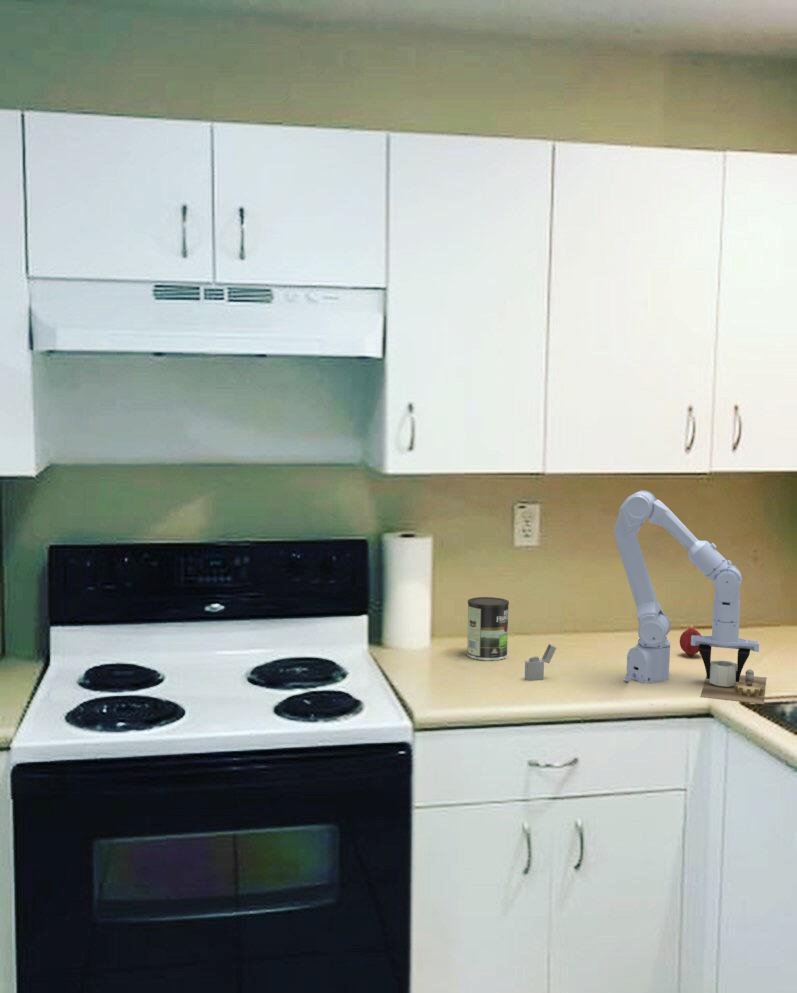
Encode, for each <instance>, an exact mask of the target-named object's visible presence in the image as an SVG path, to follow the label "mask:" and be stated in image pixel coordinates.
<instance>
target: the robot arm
mask: <svg viewBox="0 0 797 993" xmlns="http://www.w3.org/2000/svg"><path fill="white" fill-rule="evenodd" d="M618 510H619V511H618V512H619V513H618V517H617V519H616V523H615V526H614V530H613V536H614V539H615V540H614V541H615V543H616V546H617V549H618V552H619V555H620V558H621V562H622V564H623V568H624V572H625V575H626V579H627V580H628V584H629V587H630V591H631V594H632V598H633V600H634V603H635V607H636V616H637V621H638V628H637V630H638V631H637V634H638V635H637V636H638V640H637V644H636V645H635V646H634V647H631V648H630V649H629V650H628V652H627V655H626V673H625V675H626V676H625V677H624V678H623V681H625V682H627V683H630V681H631V680H633V681H637V682H639V683H642V684H650V683H656V682H657V683H658V682H666V681H669V678H670V658H671V657H670V655H671V654H670V653H671V642H670V641H669V639H668V634H669V632H670V631H671V629H672V628H671V627H672V624H671V620H670V618H669V617H668V616H667V615H666V614H665V612H664V611H663V609H662V606H661V604H660V602H659V600H658V599H657V595H656V593H655V588H654V587H653V586H654V585H653V582H652V581H651V580H652V579H651V576H650V573H649V570H648V567H647V564H646V561H645V558H644V554H643V552H642V548H641V545H640V542H639V539H638V533H639V531H640V529H641V528H642V526H643V524H644V523H645V521H647V520H648V519H649V520H648V524H652V525H655V526H656V525H657V526H660V527H663V528H664V529H665V530H666V531H667V532H668V533H669V534H671V536H672V537H673V538H674V539H675V540H677V542H679V543H680V544H681V545H682V546H683V547H684V548H685V549H686V550H687V551H688V552H687V557H688V560H689V561H690V562H691V563H692V564H693V565H694V566H695V567H696V568H697V569H698V570H699V571H700V572H701V573H702V574H703V575H704V576H705V577H706V578H707V579H709V580H711V581H712V585H713V588H714V598H713V600H712V601H713V603H712V605H713V607H712V623H711V625H712V627H711V635H701V636H695V635H692V636H691V645H693V646H696V645H699V655H700V656H701V659H702V662H703V665H704V667H705V668H704V669H705V674H706V676H707V679H710V663H711V661H712V660H711V659H712V657H711V656H712V647H713V648H724V649H731V650H733V649H734V650H737V661H736V662H737V663H736V664H737V673H736V682H739V678H740V675H742V671H743V668H744V666H745V664H746V662H747V660H748V659H749V656H750V654H751V651H753V652H756V653H758V652H760V641H756V640H751V639H744V638H739V634H740V618H741V617H740V613H741V600H740V597H741V591H740V590H741V587H742V580H743V579H742V578H743V577H742V574H741V571H740V570H739V568H738V567H737V566H736V565H733V564H732V563H733V562H732V561H731V560H730V559H728V560H727V559H726V558H725V557H724V556H723V555H722V554H721V553H720V552H719V551H718V550H717V549H716V548H717V545H716V544H715V543H714V542H712V543H710V542H709V541H708V540H699V539H698V538H697V537H696V536H695V534H693V533H692V531H691V530H689V528H688V527H686V525H685V524H684V523H683V522H682V520H681V519H679V518H678V517H677V515H676V514H674V512H672V510H671V509H669V507H668V506H667V505H666V504H664V502H662V500H659V499H657V498H656V497H655V495H654V494H653V493H652V492H650V491H648V490H639V491H636V492H634V493H633V494H631V495H629V496H627V497H626V499H625V500H624V501H623V503H622V504H621V506H620V507H619V509H618Z"/></svg>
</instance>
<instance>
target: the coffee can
mask: <svg viewBox="0 0 797 993" xmlns="http://www.w3.org/2000/svg"><path fill="white" fill-rule="evenodd" d="M509 604H510V601H509V600H508V599H505V598H500V597H495V596H494V597H491V596H479V597H472V598H468V600H467V651H466V652H467V653H466V655H468V656H469V657H468V656H467V657H468V658H470V659H473V658H474V659H473V660H477V659H478V660H479V661H489V662H490V661H491V662H492V661H501V659H502V660H505V659H507V658H508V640H509V639H508V637H509V636H508V632H509V628H508V627H509ZM506 657H507V658H506ZM504 658H505V659H504ZM478 660H477V661H478Z"/></svg>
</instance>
